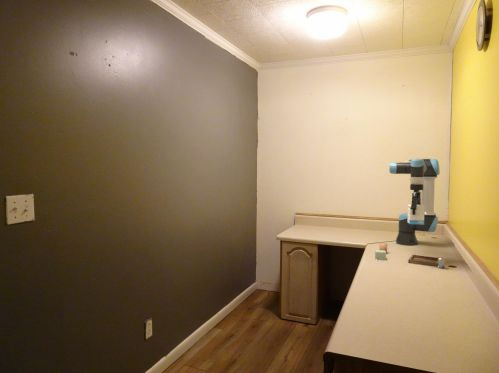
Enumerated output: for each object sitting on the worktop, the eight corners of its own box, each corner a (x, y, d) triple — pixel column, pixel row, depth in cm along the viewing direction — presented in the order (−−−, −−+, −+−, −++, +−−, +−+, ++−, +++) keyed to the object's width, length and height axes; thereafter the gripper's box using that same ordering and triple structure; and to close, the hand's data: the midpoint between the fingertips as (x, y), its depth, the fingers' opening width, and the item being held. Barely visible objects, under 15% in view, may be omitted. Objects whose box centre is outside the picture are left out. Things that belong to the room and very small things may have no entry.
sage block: (374, 257, 235) (375, 249, 234) (384, 257, 233) (384, 250, 233) (375, 259, 229) (375, 252, 229) (385, 260, 228) (385, 252, 227)
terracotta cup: (380, 251, 250) (380, 243, 250) (387, 252, 247) (388, 243, 247) (378, 253, 246) (378, 244, 245) (386, 254, 243) (386, 245, 243)
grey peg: (437, 266, 213) (438, 256, 212) (444, 267, 211) (445, 257, 210) (437, 268, 210) (437, 258, 209) (444, 269, 208) (444, 258, 207)
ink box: (424, 224, 220) (424, 203, 220) (409, 224, 222) (410, 202, 222) (421, 222, 229) (421, 201, 228) (407, 222, 231) (407, 201, 230)
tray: (412, 257, 233) (412, 254, 233) (440, 261, 225) (440, 258, 225) (408, 262, 221) (408, 259, 221) (437, 266, 212) (437, 263, 212)
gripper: (414, 183, 236) (413, 216, 237) (406, 184, 217) (405, 220, 218) (426, 183, 231) (425, 217, 232) (419, 184, 213) (418, 221, 214)
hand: (415, 219), depth 225 cm, fingers closed on ink box, 10 cm apart
